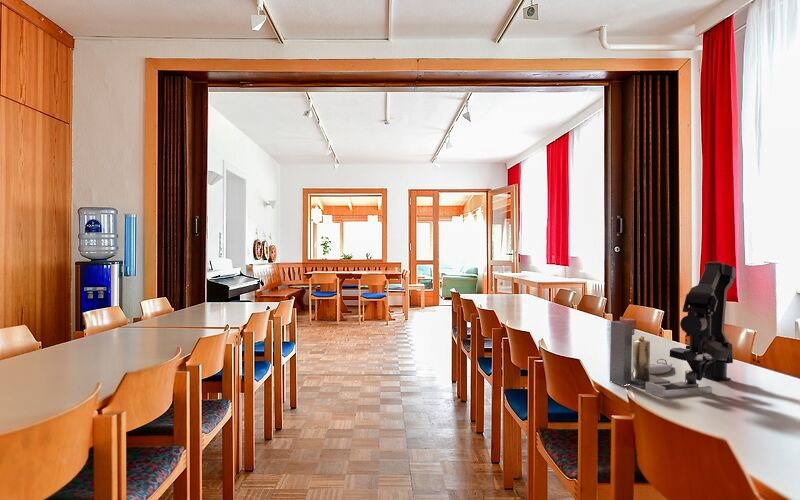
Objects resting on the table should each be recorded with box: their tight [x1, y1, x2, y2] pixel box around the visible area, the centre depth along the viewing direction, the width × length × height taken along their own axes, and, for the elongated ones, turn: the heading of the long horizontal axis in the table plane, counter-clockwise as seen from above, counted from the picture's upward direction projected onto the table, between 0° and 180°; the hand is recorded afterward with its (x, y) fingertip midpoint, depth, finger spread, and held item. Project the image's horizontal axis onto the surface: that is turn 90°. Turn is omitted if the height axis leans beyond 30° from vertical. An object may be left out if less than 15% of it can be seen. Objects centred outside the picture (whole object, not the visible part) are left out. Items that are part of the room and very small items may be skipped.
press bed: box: [609, 317, 671, 389], centre depth 156 cm, size 16×12×21 cm
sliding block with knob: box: [670, 369, 700, 390], centre depth 147 cm, size 8×3×6 cm, turn 108°
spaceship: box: [650, 358, 673, 375], centre depth 171 cm, size 23×7×4 cm, turn 125°
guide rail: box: [644, 382, 713, 399], centre depth 146 cm, size 20×6×3 cm, turn 108°
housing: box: [632, 335, 651, 379], centre depth 157 cm, size 5×5×14 cm
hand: (698, 380), depth 149 cm, fingers closed
